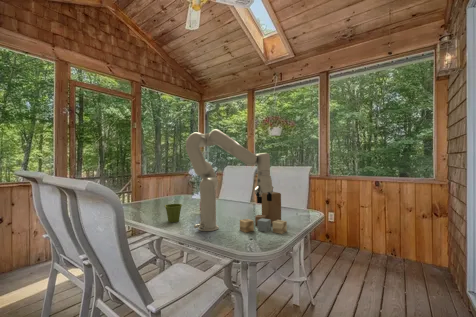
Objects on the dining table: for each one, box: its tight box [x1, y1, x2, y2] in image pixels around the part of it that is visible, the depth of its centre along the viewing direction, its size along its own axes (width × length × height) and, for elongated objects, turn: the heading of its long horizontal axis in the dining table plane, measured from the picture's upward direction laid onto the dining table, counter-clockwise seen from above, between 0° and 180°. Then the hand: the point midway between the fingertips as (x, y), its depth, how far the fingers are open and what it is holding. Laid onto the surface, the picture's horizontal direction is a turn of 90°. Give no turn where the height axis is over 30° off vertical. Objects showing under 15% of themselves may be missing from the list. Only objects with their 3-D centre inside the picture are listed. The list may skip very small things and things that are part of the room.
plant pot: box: [164, 203, 183, 223], centre depth 163 cm, size 12×12×11 cm
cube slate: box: [256, 218, 272, 233], centre depth 141 cm, size 6×6×6 cm
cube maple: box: [272, 219, 288, 235], centre depth 137 cm, size 6×6×6 cm
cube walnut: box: [254, 214, 267, 227], centre depth 151 cm, size 6×6×6 cm
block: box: [261, 191, 282, 225], centre depth 158 cm, size 10×10×20 cm
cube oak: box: [239, 218, 255, 233], centre depth 140 cm, size 6×6×6 cm
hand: (264, 202), depth 141 cm, fingers open, 9 cm apart
